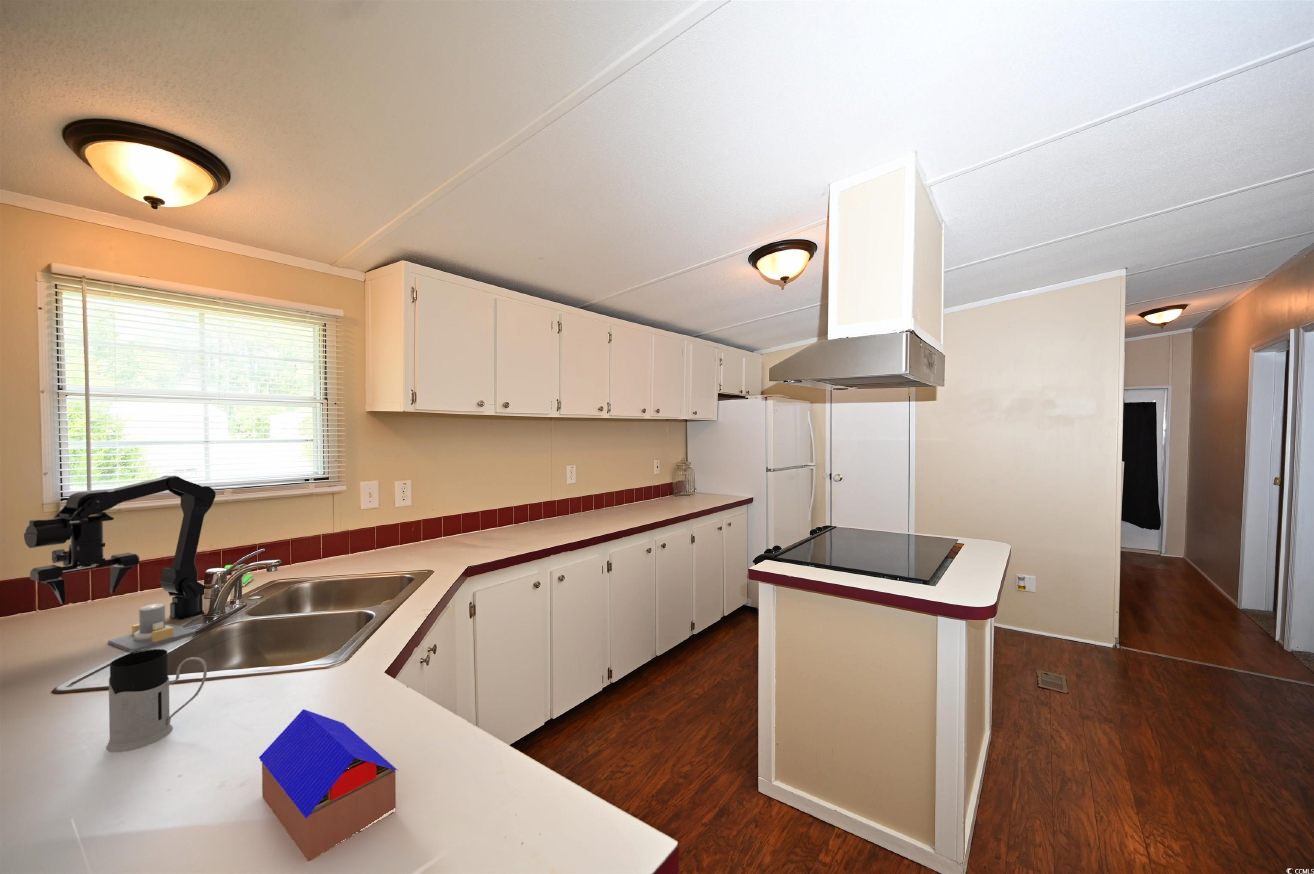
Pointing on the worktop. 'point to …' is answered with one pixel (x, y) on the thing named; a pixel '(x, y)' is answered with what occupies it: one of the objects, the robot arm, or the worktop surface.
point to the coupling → (151, 618)
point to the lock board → (148, 643)
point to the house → (325, 782)
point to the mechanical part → (245, 576)
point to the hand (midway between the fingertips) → (88, 598)
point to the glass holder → (141, 699)
